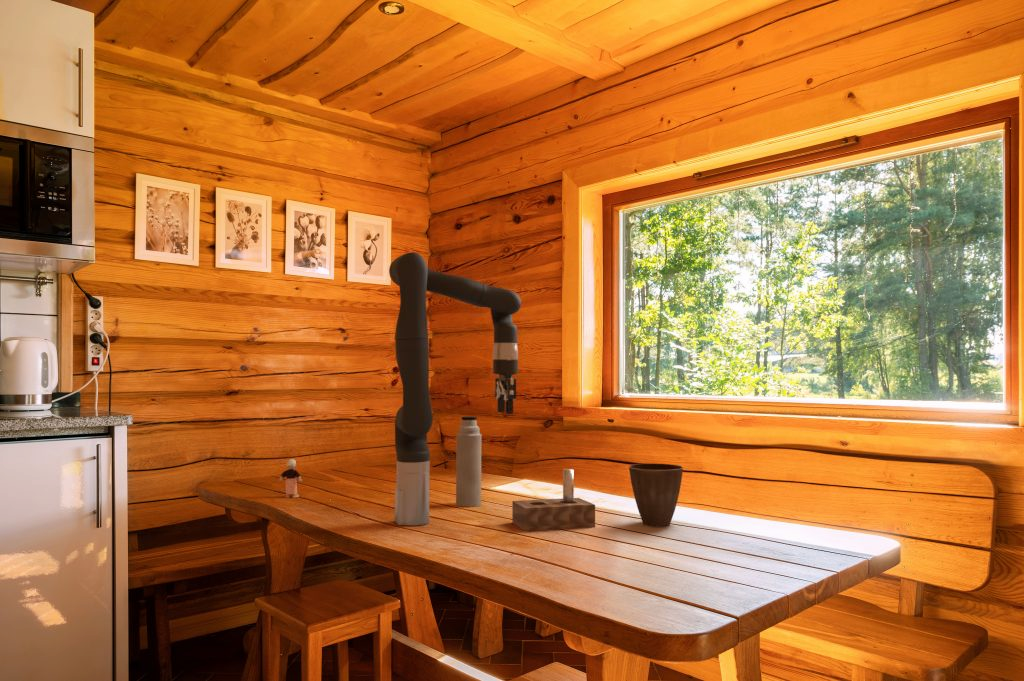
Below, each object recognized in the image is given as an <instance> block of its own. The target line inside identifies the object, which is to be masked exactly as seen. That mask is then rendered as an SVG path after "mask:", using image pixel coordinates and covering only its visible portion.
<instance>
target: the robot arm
mask: <svg viewBox="0 0 1024 681" xmlns="http://www.w3.org/2000/svg"><path fill="white" fill-rule="evenodd" d="M426 262H427V261H426V260H425V258H424V257H423V256H422V255H421V254H419V253H417V252H406V253H404V254H402V255H400V256H398V257H397V258H394V260H393V261H392V262H391V264H390V265H389V268H388V269H389V270H388V273H389V277H390V280H391V281H392V282H393V283H394V284H396V285H397V286H398V287H399V295H400V303H399V304H400V306H399V310H398V311H399V312H398V314H397V315H398V316H397V320H396V326H395V332H394V333H395V334H394V335H395V337H394V339H395V341H394V342H395V344H394V346H395V347H394V348H395V358H396V364H397V368H398V372H399V376H400V379H401V384H402V406H401V407H400V408H398V410H397V412H396V414H395V419H394V447H395V452H396V486H395V488H394V522H395V524H396V525H397V526H422V525H427V524H429V523H430V483H431V482H430V479H431V478H430V476H431V474H430V472H431V470H430V468H431V466H430V465H431V464H430V463H431V461H430V459H431V454H430V453H431V451H430V449H429V447H428V433H429V431H431V429H432V426H433V422H434V418H433V410H432V402H431V396H430V385H429V384H430V383H429V379H430V378H429V376H430V374H429V373H430V365H429V364H430V361H429V360H430V359H429V358H430V357H429V355H430V351H429V349H430V347H429V331H428V313H427V292H430V293H435V294H438V295H442V296H444V297H447V298H451V299H454V300H457V301H458V302H459V301H460V302H463V303H465V304H468V305H471V306H474V307H478V308H489V309H490V317H491V321H492V325H493V347H492V373H493V375H498V377H495V378H494V380H495V381H494V397H495V398H496V401H497V406H496V408H497V413H505V414H506V415H513V414H514V401H515V400H516V399H517V378H516V377H513V375H518V374H519V348H518V328H517V327H518V326H517V325H516V324H514V322H513V315H514V314H516V313H518V312H519V310H520V309H521V307H522V299H521V297H520V296H519V295H518V293H516V292H515V291H512V290H510V289H507V288H502V287H497V286H491V285H489V284H485V283H483V282H480V281H477V280H474V279H471V278H468V277H464V276H460V275H454V274H447V273H443V272H440V271H436V270H433V269H431V268H428V265H427V263H426Z"/></svg>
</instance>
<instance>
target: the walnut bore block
mask: <svg viewBox="0 0 1024 681" xmlns="http://www.w3.org/2000/svg"><path fill="white" fill-rule="evenodd" d="M511 514H512V521H511V522H512V524H514V525H515V526H517V527H519V528H520V529H522V530H523V531H525V532H533V531H547V530H549V531H550V530H564V529H565V530H566V529H580V528H581V529H582V528H584V529H585V528H596V504H595V503H592V502H589V501H588V500H585V499H583V498H580V497H574V503H567V504H564V503H563V498H547V499H546V498H545V499H528V500H527V499H525V500H524V499H523V500H521V499H520V500H512V513H511Z"/></svg>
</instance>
